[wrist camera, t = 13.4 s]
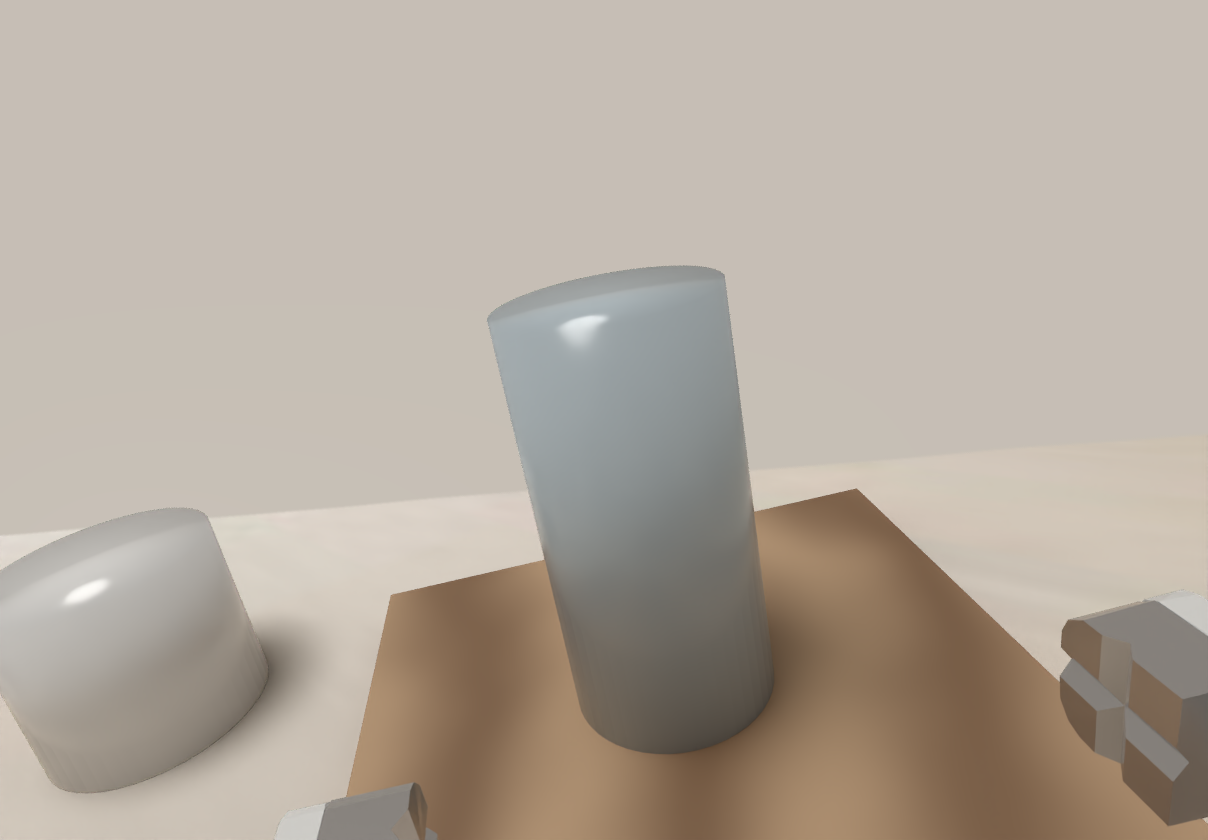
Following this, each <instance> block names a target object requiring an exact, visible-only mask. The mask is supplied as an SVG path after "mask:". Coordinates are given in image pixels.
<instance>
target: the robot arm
mask: <svg viewBox="0 0 1208 840" xmlns="http://www.w3.org/2000/svg"><path fill="white" fill-rule="evenodd" d="M1061 648H1062V649H1063V650H1064V651H1065V652H1066V653H1067V654H1068V655H1069V656H1070V657H1071V658H1072V659H1071V661H1070V662H1069V664H1068V665H1067V666H1066V668H1065V669H1064V671H1063V672H1062V674H1061V675H1060V699H1061V702H1062V705H1063V708H1064V710H1065V713H1066V716H1067V718H1068V721H1069V722H1070V724H1071V725H1072V727H1073V728H1074V730H1075V731H1076V733H1077V734H1078V736H1079V737H1080V738H1081V739H1082V740H1083V741H1084V742H1085V743H1086V744H1087V745H1088V746H1089V747H1090V748H1091V750H1092V751H1093V752H1094V753H1097V754H1099V755H1101V756H1104V757H1106V758H1109V759H1111V760H1113V761H1116V762H1118V763H1120V764H1121V771H1122V779H1123V782H1124V783H1125V784H1126V785H1127V786H1128V787H1129V788H1130V789H1131V790H1132V791H1133V792H1134V793H1135V794H1136V795H1137V796H1138V797H1139V798H1140V799H1141V800H1142V801H1143V802H1144V803H1145V804H1146V805H1147V806H1148V807H1149V808H1150V809H1151V810H1152V811H1153V812H1154V813H1155V814H1156V815H1157V816H1158V817H1159V818H1160V819H1161V820H1162V821H1163V822H1164V823H1165V824H1166V825H1167V826H1172V825H1177V824H1181V823H1185V822H1189V821H1194V820H1198V819H1202V818H1206V817H1208V600H1207V599H1205V598H1204V597H1202V596H1201V595H1199V594H1197V593H1194V592H1190V591H1186V590H1179V591H1175V592H1171V593H1167V594H1164V595H1160V596H1156V597H1152V598H1149V599H1145V600H1143V601H1142V602H1135V603H1131V604H1127V605H1124V606H1120V607H1116V608H1112V609H1108V610H1104V611H1100V612H1096V613H1092V614H1089V615H1085V616H1081V617H1077V618H1073V619H1069V620H1068V621H1067V623H1066V624H1065V626H1064V628H1063V630H1062V640H1061ZM427 809H428V805H427V802H426V800H425V797H424V795H423V792H422V790H421V787H420V785H419V784H417V783H415V782H413V783H408V784H404V785H399V786H395V787H390V788H386V789H381V790H377V791H372V792H368V793H363V794H359V795H354V796H350V797H345V798H341V799H336V800H332V801H331V802H328V803H323V804H319V805H314V806H309V807H305V808H300V809H296V810H291V811H288V812H287V813H286V814H285V816H284V817H283V818H282V819H281V821H280V823H279V824H278V828H277V831H276V834H275V837H274V840H439V837H438V834H437V833H435V832H433V831H432V830H430V829H429V828H427V827H426V822H427Z"/></svg>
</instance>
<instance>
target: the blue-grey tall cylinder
mask: <svg viewBox="0 0 1208 840" xmlns="http://www.w3.org/2000/svg"><path fill="white" fill-rule="evenodd" d="M487 322H488V326H489V329H490V334H491V338H492V342H493V347H494V351H495V355H496V359H497V363H498V367H499V372H500V376H501V380H502V384H503V388H504V393H505V397H506V401H507V405H508V409H509V413H510V418H511V422H512V426H513V430H514V434H515V438H516V443H517V447H518V451H519V455H520V459H521V463H522V468H523V472H524V476H525V480H526V484H527V488H528V493H529V497H530V501H531V505H532V509H533V513H534V518H535V522H536V526H537V530H538V534H539V539H540V543H541V547H542V551H543V555H544V559H545V564H546V568H547V572H548V576H549V580H550V584H551V589H552V593H553V597H554V601H555V605H556V609H557V614H558V618H559V622H560V626H561V630H562V634H563V639H564V643H565V647H566V651H567V655H568V659H569V664H570V668H571V672H572V676H573V680H574V684H575V689H576V693H577V697H578V701H579V705H580V709H581V712H582V714H583V716H584V718H585V719H586V721H587V722H588V724H589V725H590V726H591V727H592V728H593V729H594V730H595V731H596V732H597V733H598V734H599V735H601V736H602V737H604V738H605V739H606V740H608V741H610V742H612V743H614V744H616V745H618V746H621V747H624V748H627V749H630V750H634V751H638V752H643V753H652V754H676V753H685V752H691V751H696V750H700V749H703V748H707V747H710V746H713V745H715V744H718V743H720V742H723V741H725V740H727V739H729V738H730V737H732V736H734V735H736V734H738V733H739V732H740V731H742V730H743V729H745V728H746V727H747V726H748V725H750V724H751V723H752V722H753V721H754V720H755V719H756V718H757V717H758V716H759V714H760V713H761V712H762V711H763V709H764V708H765V706H766V704H767V703H768V701H769V699H770V696H771V694H772V691H773V686H774V667H773V659H772V651H771V643H770V635H769V627H768V619H767V611H766V603H765V595H764V587H763V579H762V571H761V563H760V555H759V547H758V539H757V531H756V523H755V515H754V507H753V499H752V491H751V483H750V475H749V467H748V459H747V451H746V443H745V435H744V427H743V419H742V411H741V403H740V395H739V386H738V379H737V370H736V362H735V355H734V346H733V338H732V331H731V322H730V314H729V306H728V298H727V290H726V283H725V276H724V274H723V273H721V272H720V271H718V270H715V269H712V268H707V267H700V266H699V267H698V266H661V267H660V266H659V267H647V268H638V269H630V270H623V271H617V272H610V273H605V274H599V275H595V276H589V277H585V278H580V279H576V280H572V281H568V282H564V283H560V284H556V285H553V286H549V287H547V288H543V289H540V290H537V291H534V292H531V293H528V294H526V295H523V296H520V297H518V298H516V299H513V300H511V301H509V302H507V303H505V304H503V305H501V306H500V307H498V308H497V309H495V310H494V311H493V312H492V313H491V314H490V315H489V317H488V319H487Z"/></svg>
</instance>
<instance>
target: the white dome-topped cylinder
mask: <svg viewBox="0 0 1208 840" xmlns="http://www.w3.org/2000/svg"><path fill="white" fill-rule="evenodd" d="M268 672H269V669H268V663H267V660H266V658H265V656H264V653H263V651H262V648H261V646H260V643H259V641H258V638H257V636H256V634H255V631H254V629H253V626H252V624H251V621H250V619H249V617H248V614H247V612H246V609H245V607H244V604H243V602H242V599H241V597H240V595H239V592H238V590H237V587H236V585H235V582H234V580H233V578H232V575H231V573H230V570H229V568H228V565H227V563H226V560H225V558H224V556H223V553H222V551H221V548H220V546H219V543H218V541H217V539H216V536H215V534H214V531H213V529H212V526H211V524H210V521H209V519H208V517H207V516H206V515H205V514H204V513H203V512H201V511H199V510H194V509H190V508H165V509H158V510H150V511H145V512H140V513H136V514H132V515H128V516H123V517H120V518H116V519H113V520H110V521H106V522H103V523H100V524H97V525H94V526H92V527H89V528H86V529H83V530H81V531H78V532H76V533H73V534H71V535H68V536H66V537H63V538H61V539H59V540H57V541H54V542H52V543H50V544H48V545H46V546H44V547H42V548H39V549H37V550H36V551H34V552H32V553H30V554H28V555H26V556H24V557H22V558H21V559H19V560H17V561H15V562H14V563H12V564H10V565H9V566H7V567H6V568H4V569H2V570H1V571H0V694H1V696H2V698H3V699H4V701H5V703H6V705H7V706H8V708H9V710H10V712H11V713H12V715H13V717H14V719H15V720H16V722H17V724H18V726H19V727H20V729H21V731H22V732H23V734H24V736H25V738H26V739H27V741H28V743H29V745H30V746H31V748H32V750H33V752H34V753H35V755H36V757H37V759H38V760H39V762H40V764H41V766H42V767H43V769H44V771H45V773H46V774H47V776H48V778H49V779H50V781H51V782H52V783H53V784H54V785H55V786H57V787H58V788H60V789H63V790H65V791H69V792H74V793H97V792H105V791H110V790H115V789H119V788H123V787H127V786H130V785H134V784H136V783H139V782H142V781H145V780H147V779H150V778H152V777H155V776H157V775H159V774H162V773H164V772H166V771H168V770H170V769H172V768H174V767H176V766H178V765H180V764H182V763H183V762H185V761H187V760H189V759H190V758H192V757H194V756H195V755H197V754H199V753H200V752H202V751H203V750H205V749H206V748H207V747H209V746H210V745H212V744H213V743H214V742H216V741H217V740H218V739H220V738H221V737H222V736H224V735H225V734H226V733H227V732H228V731H229V730H231V729H232V728H233V727H234V726H235V725H236V724H237V723H238V722H239V721H240V720H241V719H242V718H243V717H244V716H245V715H246V714H247V713H248V712H249V710H250V709H251V708H252V707H253V705H254V704H255V703H256V701H257V700H258V698H259V697H260V695H261V693H262V691H263V689H264V687H265V685H266V682H267V679H268Z"/></svg>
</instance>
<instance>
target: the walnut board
mask: <svg viewBox="0 0 1208 840" xmlns="http://www.w3.org/2000/svg"><path fill="white" fill-rule="evenodd" d="M754 515H755V523H756V531H757V539H758V547H759V555H760V563H761V571H762V579H763V587H764V595H765V603H766V611H767V619H768V627H769V635H770V643H771V651H772V659H773V667H774V686H773V691H772V694H771V696H770V699H769V701H768V703H767V704H766V706H765V708H764V709H763V711H762V712H761V713H760V714H759V716H758V717H757V718H756V719H755V720H754V721H753V722H752V723H751V724H750V725H748V726H747V727H746V728H745V729H743V730H742V731H740V732H739V733H738V734H736V735H734V736H732V737H730V738H729V739H727V740H725V741H723V742H720V743H718V744H715V745H713V746H710V747H707V748H703V749H700V750H696V751H691V752H685V753H676V754H652V753H643V752H638V751H634V750H630V749H627V748H624V747H621V746H618V745H616V744H614V743H612V742H610V741H608V740H606V739H605V738H604V737H602V736H601V735H599V734H598V733H597V732H596V731H595V730H594V729H593V728H592V727H591V726H590V725H589V724H588V722H587V721H586V719H585V718H584V716H583V714H582V712H581V709H580V705H579V701H578V697H577V693H576V689H575V684H574V680H573V676H572V672H571V668H570V664H569V659H568V655H567V651H566V647H565V643H564V639H563V634H562V630H561V626H560V622H559V618H558V614H557V609H556V605H555V601H554V597H553V593H552V589H551V584H550V580H549V576H548V572H547V568H546V564H545V560H542V561H538V562H533V563H529V564H525V565H520V566H516V567H511V568H507V569H503V570H498V571H494V572H490V573H485V574H481V575H476V576H472V577H468V578H463V579H459V580H455V581H450V582H446V583H441V584H437V585H433V586H428V587H424V588H420V589H415V590H411V591H406V592H402V593H398V594H393V595H391V597H390V602H389V606H388V611H387V615H386V620H385V624H384V629H383V633H382V638H381V642H380V647H379V651H378V656H377V660H376V665H375V669H374V674H373V678H372V683H371V687H370V692H369V696H368V701H367V705H366V710H365V714H364V719H363V723H362V728H361V733H360V737H359V742H358V746H357V751H356V755H355V760H354V764H353V769H352V773H351V778H350V782H349V787H348V791H347V796H346V797H350V796H354V795H359V794H363V793H368V792H372V791H377V790H381V789H386V788H390V787H395V786H399V785H404V784H408V783H413V782H415V783H417V784H419V785H420V787H421V790H422V792H423V795H424V797H425V800H426V802H427V805H428V809H427V822H426V827H427V828H429V829H430V830H432V831H433V832H435V833H437V834H438V837H439V840H1208V824H1207V823H1206V822H1205V821H1204V820H1203V819H1198V820H1194V821H1189V822H1185V823H1181V824H1177V825H1172V826H1167V825H1166V824H1165V823H1164V822H1163V821H1162V820H1161V819H1160V818H1159V817H1158V816H1157V815H1156V814H1155V813H1154V812H1153V811H1152V810H1151V809H1150V808H1149V807H1148V806H1147V805H1146V804H1145V803H1144V802H1143V801H1142V800H1141V799H1140V798H1139V797H1138V796H1137V795H1136V794H1135V793H1134V792H1133V791H1132V790H1131V789H1130V788H1129V787H1128V786H1127V785H1126V784H1125V783H1124V782H1123V779H1122V771H1121V764H1120V763H1118V762H1116V761H1113V760H1111V759H1109V758H1106V757H1104V756H1101V755H1099V754H1097V753H1094V752H1093V751H1092V750H1091V748H1090V747H1089V746H1088V745H1087V744H1086V743H1085V742H1084V741H1083V740H1082V739H1081V738H1080V737H1079V736H1078V734H1077V733H1076V731H1075V730H1074V728H1073V727H1072V725H1071V724H1070V722H1069V721H1068V718H1067V716H1066V713H1065V710H1064V708H1063V705H1062V702H1061V699H1060V682H1059V681H1058V680H1056V679H1055V678H1054V677H1053V676H1052V675H1051V674H1050V673H1049V672H1048V671H1047V670H1046V669H1045V668H1044V667H1043V666H1042V665H1041V664H1040V663H1039V662H1038V661H1037V660H1036V659H1035V658H1033V657H1032V656H1031V655H1030V654H1029V653H1028V652H1027V651H1026V650H1025V649H1024V648H1023V647H1022V646H1021V645H1020V644H1019V643H1018V642H1017V641H1016V640H1015V639H1014V638H1013V637H1012V636H1010V635H1009V634H1008V633H1007V632H1006V631H1005V630H1004V629H1003V628H1002V627H1001V626H1000V625H999V624H998V623H997V622H996V621H995V620H994V619H993V618H992V617H991V616H990V615H989V614H987V613H986V612H985V611H984V610H983V609H982V608H981V607H980V606H979V605H978V604H977V603H976V602H975V601H974V600H973V599H972V598H971V597H970V596H969V595H968V594H967V593H966V592H964V591H963V590H962V589H961V588H960V587H959V586H958V585H957V584H956V583H955V582H954V581H953V580H952V579H951V578H950V577H949V576H948V575H947V574H946V573H945V572H944V571H943V570H941V569H940V568H939V567H938V566H937V565H936V564H935V563H934V562H933V561H932V560H931V559H930V558H929V557H928V556H927V555H926V554H925V553H924V552H923V551H922V550H921V549H919V548H918V547H917V546H916V545H915V544H914V543H913V542H912V541H911V540H910V539H909V538H908V537H907V536H906V535H905V534H904V533H903V532H902V531H901V530H900V529H899V528H898V527H896V526H895V525H894V524H893V523H892V522H891V521H890V520H889V519H888V518H887V517H886V516H885V515H884V514H883V513H882V512H881V511H880V510H879V509H878V508H877V507H876V506H875V505H873V504H872V503H871V502H870V501H869V500H868V499H867V498H866V497H865V496H864V495H863V494H862V493H861V492H860V491H859V490H858V489H853V490H848V491H844V492H839V493H835V494H831V495H826V496H822V497H818V498H813V499H809V500H804V501H800V502H796V503H791V504H787V505H783V506H778V507H774V508H769V509H765V510H761V511H756V512H754Z"/></svg>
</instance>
